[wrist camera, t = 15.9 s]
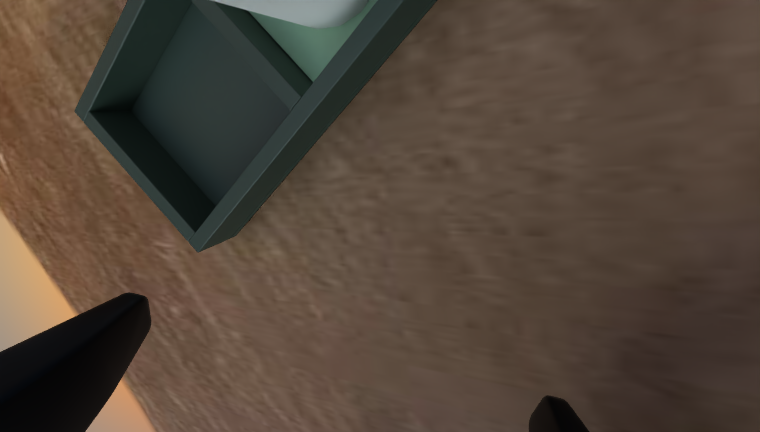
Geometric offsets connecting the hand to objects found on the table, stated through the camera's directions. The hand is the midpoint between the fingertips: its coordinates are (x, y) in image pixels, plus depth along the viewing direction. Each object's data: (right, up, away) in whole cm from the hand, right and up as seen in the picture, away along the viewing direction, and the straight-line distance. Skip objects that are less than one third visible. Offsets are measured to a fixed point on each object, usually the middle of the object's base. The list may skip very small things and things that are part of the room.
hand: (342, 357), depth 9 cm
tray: (-5, +12, +11) cm, 17 cm away
